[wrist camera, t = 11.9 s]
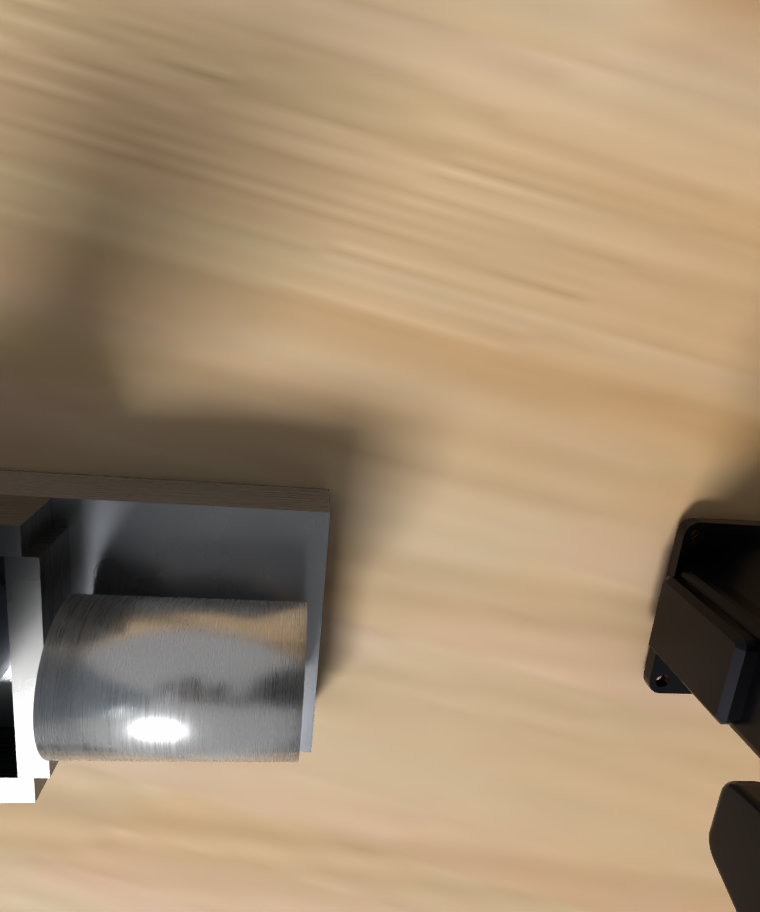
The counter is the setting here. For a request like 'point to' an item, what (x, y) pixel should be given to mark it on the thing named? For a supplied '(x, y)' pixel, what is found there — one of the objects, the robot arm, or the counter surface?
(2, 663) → the dome-capped cylinder
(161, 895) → the counter surface
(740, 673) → the robot arm
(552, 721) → the counter surface
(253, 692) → the dark grey open box
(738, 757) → the counter surface
